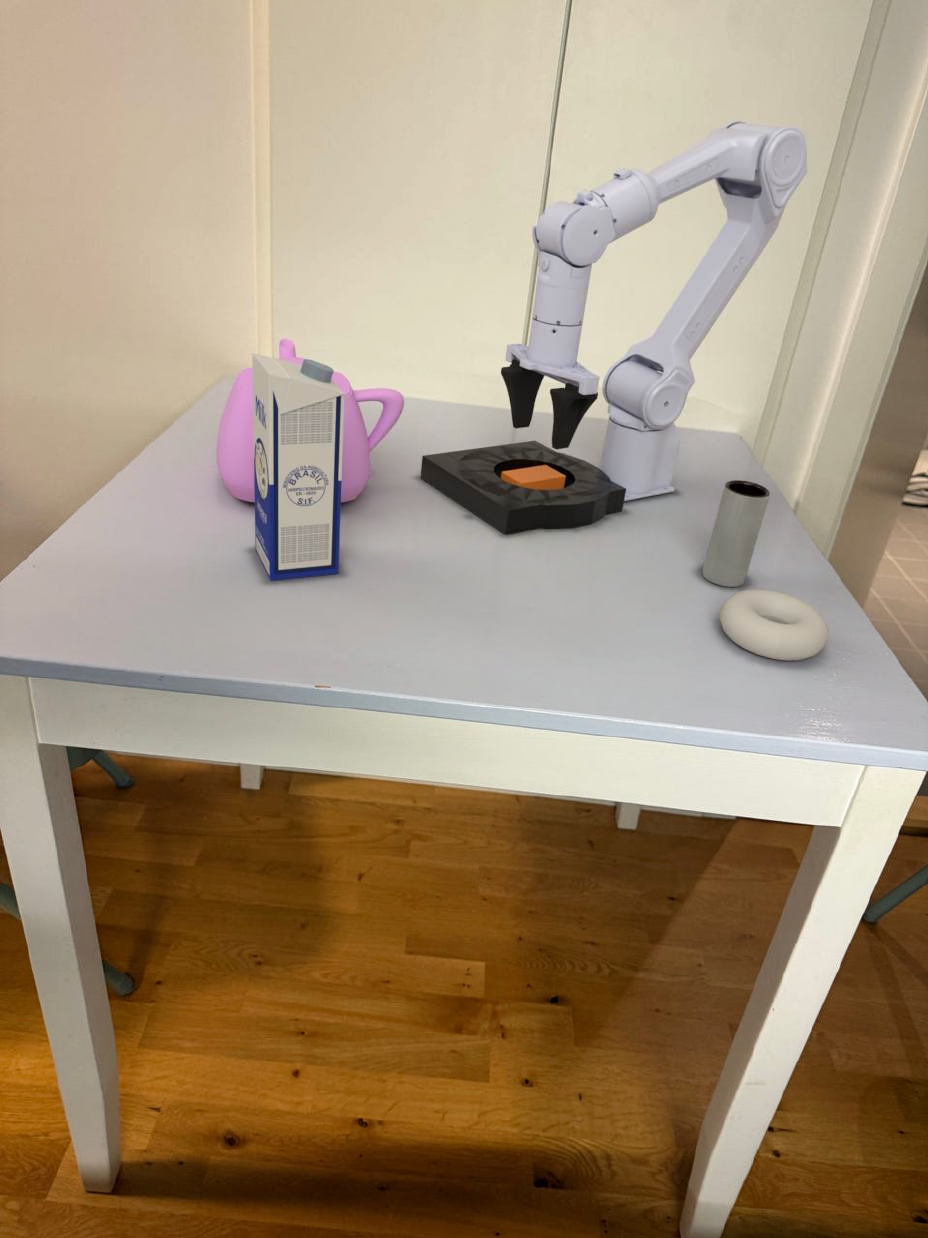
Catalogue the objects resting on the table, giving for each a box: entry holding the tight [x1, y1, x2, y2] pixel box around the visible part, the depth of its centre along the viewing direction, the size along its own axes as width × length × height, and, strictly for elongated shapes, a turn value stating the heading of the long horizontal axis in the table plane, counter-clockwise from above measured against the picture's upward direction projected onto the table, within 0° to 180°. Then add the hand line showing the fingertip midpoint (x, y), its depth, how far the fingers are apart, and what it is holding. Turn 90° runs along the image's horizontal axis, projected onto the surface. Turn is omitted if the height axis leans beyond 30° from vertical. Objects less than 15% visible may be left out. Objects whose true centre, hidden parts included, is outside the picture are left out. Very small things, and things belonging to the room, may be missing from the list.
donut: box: [719, 589, 829, 662], centre depth 85 cm, size 10×4×10 cm
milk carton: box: [251, 353, 345, 582], centre depth 84 cm, size 7×7×20 cm
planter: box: [701, 479, 771, 588], centre depth 94 cm, size 4×4×10 cm
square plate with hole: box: [420, 440, 626, 536], centre depth 110 cm, size 20×20×3 cm
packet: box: [501, 465, 566, 490], centre depth 110 cm, size 7×4×3 cm, turn 124°
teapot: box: [215, 338, 405, 504], centre depth 105 cm, size 23×21×15 cm
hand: (540, 436), depth 107 cm, fingers open, 7 cm apart
